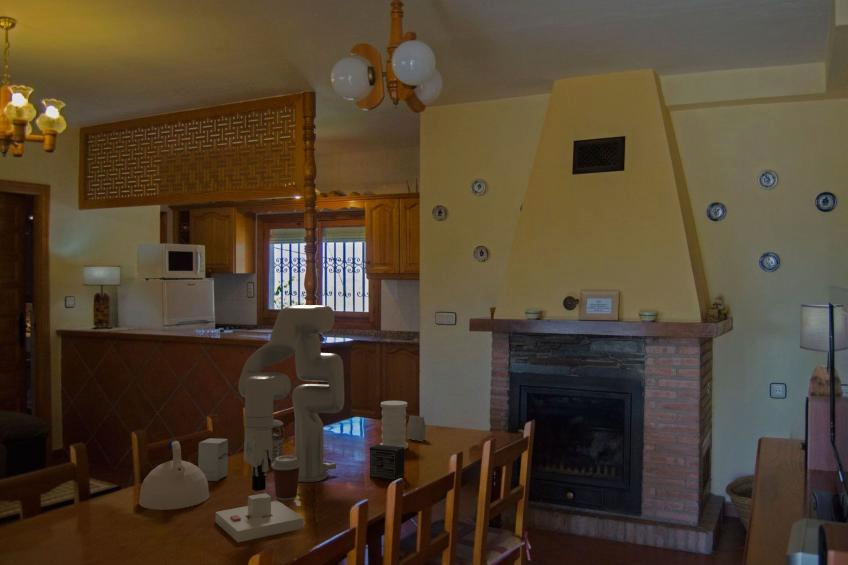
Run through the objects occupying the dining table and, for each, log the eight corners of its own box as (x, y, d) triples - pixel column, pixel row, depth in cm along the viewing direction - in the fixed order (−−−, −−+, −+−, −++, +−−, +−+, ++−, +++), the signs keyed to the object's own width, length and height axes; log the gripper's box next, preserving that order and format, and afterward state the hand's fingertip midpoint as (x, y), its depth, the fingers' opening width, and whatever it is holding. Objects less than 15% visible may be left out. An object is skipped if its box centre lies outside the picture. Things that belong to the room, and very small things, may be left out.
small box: (405, 477, 232) (405, 446, 232) (396, 482, 226) (396, 450, 227) (378, 473, 237) (378, 443, 237) (369, 478, 231) (369, 447, 231)
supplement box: (217, 481, 227) (217, 443, 227) (197, 480, 228) (197, 442, 228) (228, 475, 234) (228, 438, 234) (208, 474, 236) (208, 437, 236)
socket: (277, 510, 198) (277, 498, 198) (303, 528, 183) (303, 515, 183) (215, 522, 188) (215, 509, 188) (237, 542, 173) (237, 529, 173)
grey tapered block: (421, 441, 286) (421, 418, 286) (407, 440, 289) (407, 416, 289) (425, 440, 289) (425, 416, 289) (411, 438, 292) (411, 415, 292)
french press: (253, 462, 251) (253, 394, 252) (271, 455, 262) (271, 390, 262) (275, 465, 248) (275, 396, 248) (293, 457, 258) (293, 391, 259)
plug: (264, 519, 189) (265, 492, 189) (271, 524, 185) (271, 497, 185) (246, 523, 186) (246, 496, 186) (252, 528, 182) (252, 500, 182)
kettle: (142, 515, 194) (142, 451, 194) (135, 495, 212) (136, 437, 212) (215, 504, 203) (215, 444, 203) (203, 486, 221) (203, 430, 222)
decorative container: (413, 446, 277) (413, 402, 277) (397, 452, 267) (397, 406, 268) (390, 442, 283) (390, 399, 284) (373, 448, 274) (373, 403, 274)
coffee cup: (286, 503, 204) (287, 463, 204) (264, 498, 208) (265, 459, 209) (307, 495, 211) (307, 457, 211) (285, 491, 216) (285, 453, 216)
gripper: (236, 419, 189) (235, 485, 189) (255, 428, 177) (255, 499, 177) (262, 416, 194) (261, 481, 193) (283, 425, 181) (282, 494, 181)
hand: (258, 489), depth 185 cm, fingers closed
